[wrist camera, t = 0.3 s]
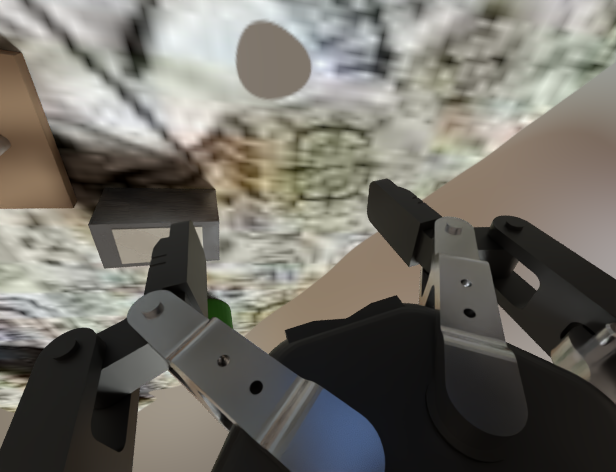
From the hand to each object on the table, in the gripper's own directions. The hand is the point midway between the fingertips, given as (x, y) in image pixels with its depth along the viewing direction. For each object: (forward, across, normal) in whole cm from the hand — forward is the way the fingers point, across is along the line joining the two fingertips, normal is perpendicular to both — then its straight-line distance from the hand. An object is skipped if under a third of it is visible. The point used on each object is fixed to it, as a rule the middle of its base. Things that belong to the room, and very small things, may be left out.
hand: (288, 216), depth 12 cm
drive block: (+18, +10, +8) cm, 23 cm away
